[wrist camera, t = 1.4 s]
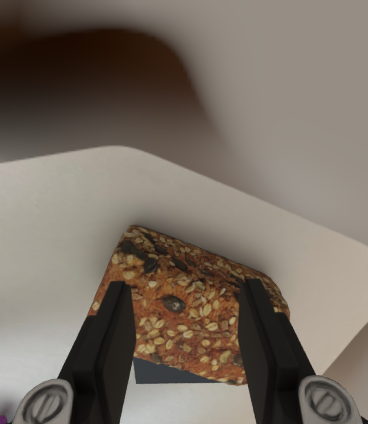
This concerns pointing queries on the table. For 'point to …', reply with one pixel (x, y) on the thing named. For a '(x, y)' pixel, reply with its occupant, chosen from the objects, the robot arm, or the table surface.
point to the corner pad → (164, 374)
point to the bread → (184, 303)
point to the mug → (3, 419)
